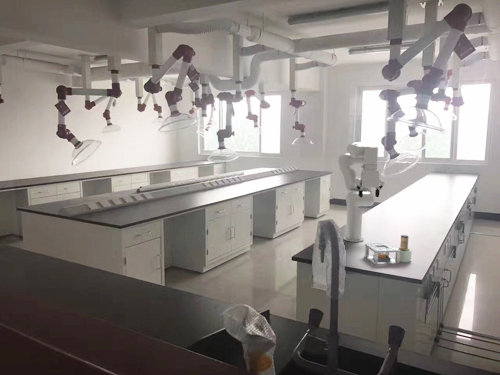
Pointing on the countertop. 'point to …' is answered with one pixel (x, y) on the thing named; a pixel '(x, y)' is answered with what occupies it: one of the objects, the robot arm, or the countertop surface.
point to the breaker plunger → (381, 255)
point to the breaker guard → (386, 250)
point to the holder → (405, 256)
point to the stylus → (404, 243)
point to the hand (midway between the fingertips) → (368, 197)
